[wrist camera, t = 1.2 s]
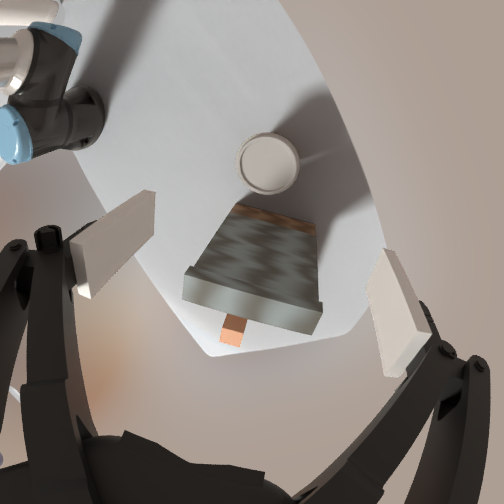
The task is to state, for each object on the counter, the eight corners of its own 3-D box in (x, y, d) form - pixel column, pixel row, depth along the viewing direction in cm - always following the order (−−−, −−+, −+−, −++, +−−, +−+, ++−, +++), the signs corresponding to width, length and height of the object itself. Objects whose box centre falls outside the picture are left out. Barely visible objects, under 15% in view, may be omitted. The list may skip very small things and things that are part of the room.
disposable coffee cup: (262, 185, 54) (251, 206, 43) (240, 140, 50) (222, 150, 40) (309, 167, 50) (310, 183, 40) (287, 119, 47) (283, 122, 36)
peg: (231, 306, 69) (219, 341, 59) (235, 292, 67) (222, 327, 56) (249, 311, 69) (239, 347, 58) (253, 297, 67) (243, 333, 56)
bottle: (53, -4, 35) (-34, -11, 9) (62, 8, 37) (-31, 1, 11) (37, 19, 38) (-50, 21, 12) (45, 31, 40) (-47, 34, 14)
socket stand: (219, 276, 65) (178, 363, 43) (233, 202, 56) (184, 274, 34) (292, 296, 64) (280, 392, 42) (317, 225, 55) (322, 312, 33)
